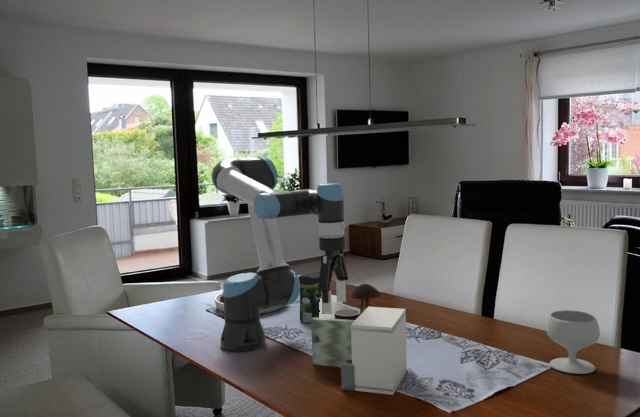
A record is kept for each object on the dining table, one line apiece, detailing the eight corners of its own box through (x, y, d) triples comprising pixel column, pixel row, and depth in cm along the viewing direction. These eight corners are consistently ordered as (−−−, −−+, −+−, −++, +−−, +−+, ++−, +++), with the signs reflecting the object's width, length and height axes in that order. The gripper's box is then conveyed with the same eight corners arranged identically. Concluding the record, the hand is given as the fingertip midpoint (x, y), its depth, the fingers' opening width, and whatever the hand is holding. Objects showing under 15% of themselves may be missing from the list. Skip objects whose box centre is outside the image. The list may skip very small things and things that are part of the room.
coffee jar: (310, 316, 225) (308, 269, 223) (327, 318, 220) (325, 271, 218) (296, 322, 216) (294, 274, 215) (313, 325, 212) (311, 276, 210)
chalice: (539, 358, 172) (539, 309, 171) (586, 357, 172) (587, 308, 170) (556, 377, 158) (557, 323, 157) (608, 376, 158) (609, 322, 156)
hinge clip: (341, 389, 155) (340, 356, 154) (347, 381, 160) (347, 349, 159) (355, 391, 153) (354, 358, 152) (361, 382, 159) (360, 350, 158)
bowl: (249, 295, 262) (248, 278, 262) (301, 303, 245) (300, 285, 244) (199, 311, 238) (198, 292, 237) (253, 321, 221) (252, 301, 220)
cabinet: (352, 390, 154) (350, 324, 152) (369, 365, 171) (368, 306, 169) (393, 394, 150) (391, 327, 148) (406, 369, 167) (405, 308, 165)
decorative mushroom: (347, 326, 209) (346, 286, 208) (356, 318, 219) (355, 279, 218) (376, 329, 205) (375, 288, 204) (384, 320, 215) (383, 281, 214)
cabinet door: (311, 365, 173) (310, 319, 172) (315, 362, 176) (313, 317, 174) (356, 369, 168) (355, 323, 167) (359, 366, 171) (358, 320, 169)
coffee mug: (358, 346, 188) (358, 316, 187) (332, 345, 190) (332, 315, 189) (363, 334, 200) (362, 306, 199) (338, 334, 201) (338, 306, 200)
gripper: (330, 242, 155) (333, 319, 157) (356, 230, 179) (358, 297, 181) (304, 242, 158) (307, 318, 160) (333, 230, 181) (335, 296, 183)
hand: (334, 307), depth 170 cm, fingers open, 13 cm apart
